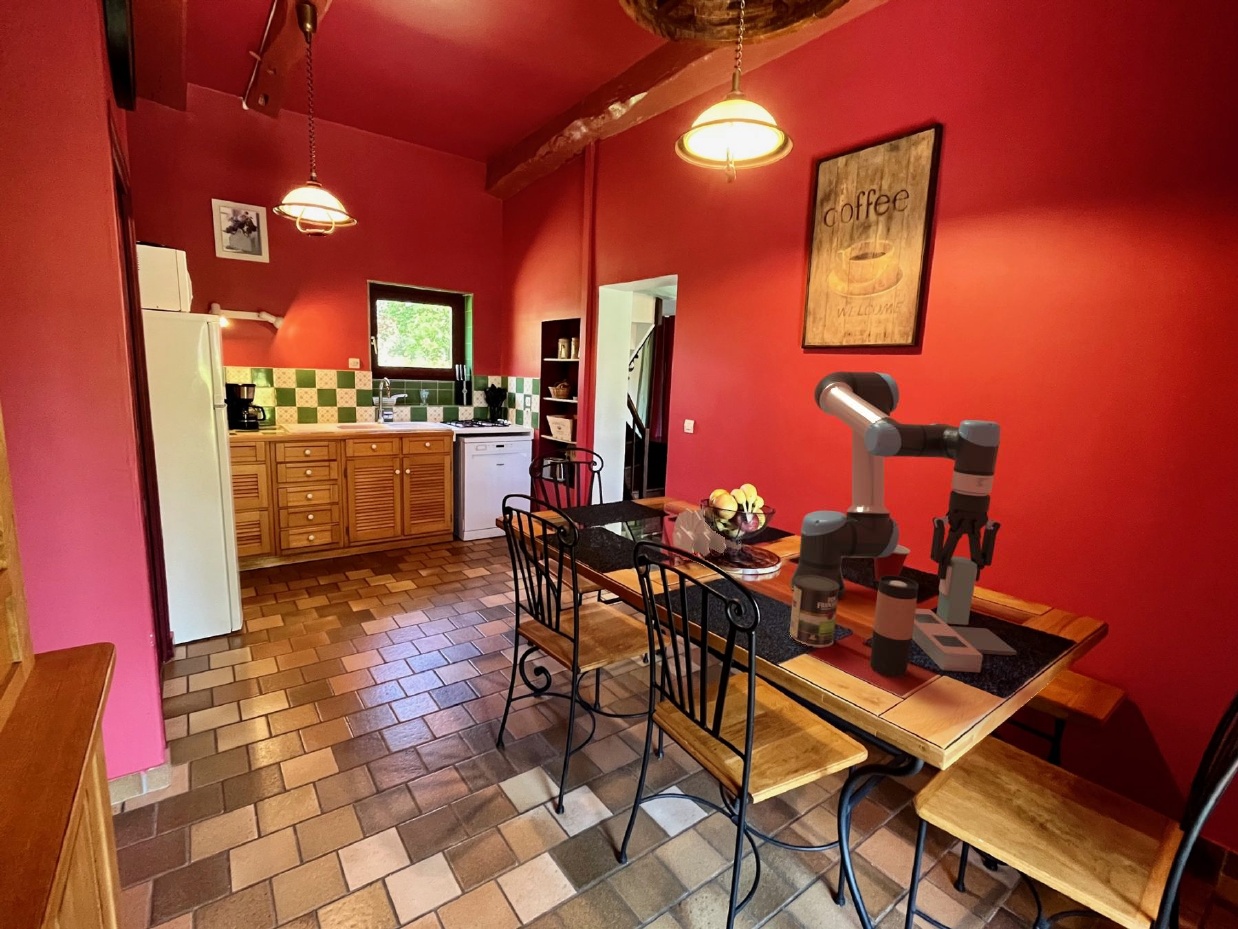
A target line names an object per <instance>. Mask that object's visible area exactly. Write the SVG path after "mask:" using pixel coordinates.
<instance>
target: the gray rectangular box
mask: <svg viewBox="0 0 1238 929" xmlns="http://www.w3.org/2000/svg"><path fill="white" fill-rule="evenodd" d="M949 566H951V567H952V572H951V579H950V586H949V593H948V595H944V594H943V593H942V592H940V591H939V592H938V593H939V595H938V601H937V609H936V615H937V616H938V617H939V618H940V619H942V620H943V621H944V622H945V623H946V624H948V625H949V624H950V625H969V619H970V615H971V614H970V612H971V607H972V601H973V597H972V594H973V595H974V593H973V588H974V589H975V586H974V582H975V583H976V581H975V575H976V569H977V564H975V563H974V562H972V561H971V559H969V558H967V557H966V556H965V557H964V556H962V557H961V556H952V558H951V561H950V563H949Z"/></svg>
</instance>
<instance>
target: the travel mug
mask: <svg viewBox="0 0 1238 929" xmlns="http://www.w3.org/2000/svg"><path fill="white" fill-rule="evenodd" d="M877 587H878V589H877V597H876V603H875V611H874V619H873V626H872V627H873V629H872V637H871V638H872V639H871V648H870V650H871V651H870V663H869V664H870V667H871V670H873V671H874V672H876V673H878V674H880V675H882V676H885V677H889V678H902V677H905V676H906V674H907V670H908V665H909V660H910V659H909V658H910V654H911V653H910V652H911V647H912V641H913V639H912V636H913V627H914V619H915V610H916V609H917V601H918V592H919V583H917V582H916V581H914V580H913V579H911V578H907V577H904V576H900V575H899V576H891V575H888V576H882V577H880V579H879V583H878V586H877Z"/></svg>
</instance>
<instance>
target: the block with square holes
mask: <svg viewBox="0 0 1238 929" xmlns="http://www.w3.org/2000/svg"><path fill="white" fill-rule="evenodd" d="M912 641H914V642H915V643H916V644H917V645H918V647H920V649H922V650H923V652H924V653H926V655H927V656H928V657H929V658H930V659H931V660H932V661H933V662H934V663H935V664H936V665H937V666H938V667H939V668H940V669H941V671H952V672H966V673H967V672H969V673H981V669H982V662H983V658H984V657H983V656H984V655H983V654H981V653H980V652H978V651H977V650H976V649H975V648H974V647H973V646H971V645H970V644H969V643H968V642H967V641H966V640H965V639H963V638H962V637H961V636H960V635H959V634H958V633H956V632H955V631H954V630H953V629H952V628H951V627H950V626H949V624H948V623H946V622H944V621H943V620H942V619H941V618H940V617H939V616H938V615H937V613H935V612H934V611H933V610H931V609H930V608H916V610H915V619H914V627H913V636H912Z"/></svg>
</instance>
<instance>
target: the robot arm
mask: <svg viewBox="0 0 1238 929" xmlns="http://www.w3.org/2000/svg"><path fill="white" fill-rule="evenodd" d="M813 394H814V396H813V398H814V402H815V404H816V406H817V407H818V408H819V409H820V410H821V411H822V412H824V413H825V414H826V415H830V416H835V417H836V418H838V419H839V420H840V421H841V422H843V423H844V424H845V425H846V426H848V427H850V429H852V431H851V432H852V433H851V434H852V436H851V438H852V440H851V442H852V443H851V445H852V446H851V447H852V448H851V449H852V450H851V451H852V452H851V454H852V455H851V457H852V458H851V460H852V461H851V462H852V463H851V474H852V475H851V482H852V483H851V506H850V507H849V508H848V509H847V510H846V514H845V513H843V512H840V511H836V510H817V511H812V512H810V513H807V514H806V515H805V516H804V517H803V518H802V520H803V521H802V524H801V528H800V532H801V533H800V543H799V557H798V564H797V566H796V567H795V570H794V571H793V572H794V573H793V574H792V577H791V579H790V585H791V587H792V588H793V589H794V578H795V577H797V576H801V575H815V576H821V577H825V578H829V579H831V580H833V581H835V582H837V583H838V584H839V586H840V588H839V592H838V600H841V599H843V598H844V597H845V595H846V584H845V581H844V577H843V572H842V559H843V558H861V559H862V558H863V559H864V558H867V559H869V558H870V559H874V558H879V557H887V556H889V555H890V554H892V552H893V551H894V550H895V548H896V547H897V545H899V541H900V528H899V526H898V523H897V521H896V520H895V519H894V518H892V517H891V514H890V510H889V509H888V508H887V507H886V506H885V458H890V457H891V458H892V457H895V458H897V457H904V458H908V457H909V458H938V459H939V458H940V459H941V458H942V459H947V460H952V461H954V466H953V473H952V478H951V479H952V480H951V484H950V485H951V486H950V488H951V489H952V490H951V491H950V493H949V501H948V511H947V513H945V515H944V516H942V517H936V516H934V517H932V524H933V533H932V534H933V535H932V541H931V542H932V543H931V550H930V557H929V558H930V559H931V560H932V561H933V562H935V563H936V564H938V568H937V578H939V580H940V581H939V586H938V591H939V593H940V592H942V593H943V594H944V595H948V593H949V586H950V579H951V572H952V567H951V566H949V563H950V561H951V558H952V557H954V556H953V555H954V553H955V550H956V548H957V547H958V543H959V541H960V539H962V537H963V535H967V537H968V544H969V545H968V546H969V556H970V560H971V561H972V562H974V563H975V564H977V569H976V575H975V582H974V588H973V594H972V598H973V597H974V593H975V591H974V590H975V585H976V582H979V581H980V578H981V577H980V576H981V570H984V569H985V567H986V566H987V567H990V566H991V565H992V564H993V556H994V551H995V544H996V539H997V534H998V532H999V530H1000V528H1001V526H1002V525H1001V523H1000V522H998V521H996V520H994V519H990V518H989V516H988V512H989V510H990V504H991V495H989V494H990V493H992V490H993V483H994V477H995V470H996V465H997V459H998V455H999V448H1000V444H1001V439H1000V438H1001V429H1002V428H1001V425H1000V424H999V423H998V422H996V421H988V420H987V421H986V420H975V419H964V420H961V422H960V424H959V426H956V425H951V424H947V423H930V424H917V423H914V424H912V423H901V422H900V421H897V420H896V419H895V418H892V417H891V413H893V412H894V411H896V409H897V408H898V404H899V401H900V390H899V386H898V383H897V382H896V380H895V379H894V377H892V376H891V375H890V374H887V373H881V372H877V371H874V372H873V371H871V372H870V371H869V372H868V371H844V370H843V371H834V372H830V373H828V374H827V375H825V376H823V377H822V378H821V379H819V381H818V383H817V385H816V386H815V388H814V392H813ZM947 523H948V525H949V528H948V531H947V536H946V539H945V534H946V528H947ZM983 527H984V530H983V536H982V531H981V529H983ZM982 537H983V538H982ZM981 538H982V543H981ZM791 587H790V588H791ZM842 597H843V598H842Z"/></svg>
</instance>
